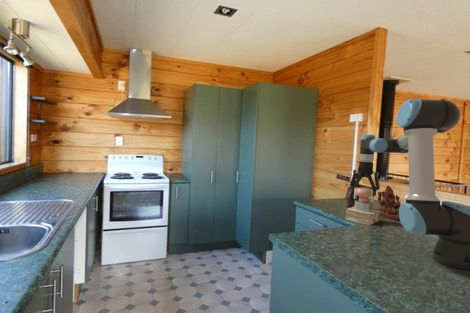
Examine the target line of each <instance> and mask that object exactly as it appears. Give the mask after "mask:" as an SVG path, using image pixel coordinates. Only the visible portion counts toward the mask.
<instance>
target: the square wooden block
mask: <svg viewBox="0 0 470 313" xmlns="http://www.w3.org/2000/svg"><path fill="white" fill-rule="evenodd" d="M354 208H355V206H354V207H351V208H346V209H345V214H344V215H345V217H344V220H346V221H350V222H356V223H358V224H359V223H360V224H362V225H363V224H364V225H367V226H371V225H373V224H376V223H378V222H379V221H380V217H381V216H380V211H379V210H378V209H373V208H372V210H371V211H370V212H362V211H357V210H355V209H354Z"/></svg>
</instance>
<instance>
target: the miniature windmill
mask: <svg viewBox="0 0 470 313" xmlns="http://www.w3.org/2000/svg"><path fill="white" fill-rule="evenodd" d="M358 169H359V166H358V167H357V170H358ZM359 175H360V174H359V172H358V173H357V175H356V179H355V182H356V180H357V178H358V176H359ZM335 179H337V180H341V181H345V182H349V183H351V179H352V177H350V176H348V175H347V176H346V175H342V174H339V173H337V174H336V177H335ZM355 182H354V183H355ZM357 187H362V188H370V189H372V187H371V186H368V185H363V184H360V182H359V183H358V185H357ZM345 194H346V195H345V197H344V200H346V201H347V203H346V209H348V208H351V207H354V206H355V200H359V196H357V198H356V199H354V193H353V187H352V186H350V185H349V186H348V188H347V191H346V193H345Z"/></svg>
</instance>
